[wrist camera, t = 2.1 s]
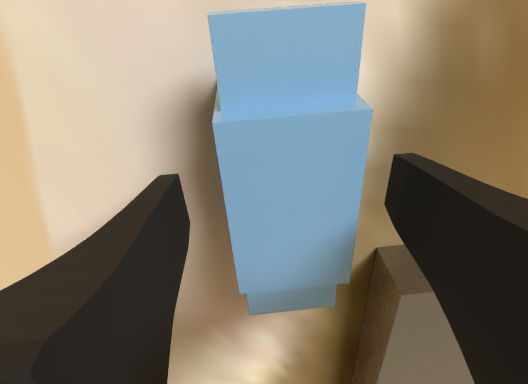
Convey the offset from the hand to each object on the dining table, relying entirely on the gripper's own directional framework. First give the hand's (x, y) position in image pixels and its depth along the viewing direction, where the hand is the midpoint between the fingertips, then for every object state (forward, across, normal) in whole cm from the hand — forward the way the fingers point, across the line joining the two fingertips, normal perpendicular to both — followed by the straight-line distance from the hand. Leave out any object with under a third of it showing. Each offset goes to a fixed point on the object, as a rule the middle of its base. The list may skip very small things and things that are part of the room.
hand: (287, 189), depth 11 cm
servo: (+3, 0, 0) cm, 3 cm away
